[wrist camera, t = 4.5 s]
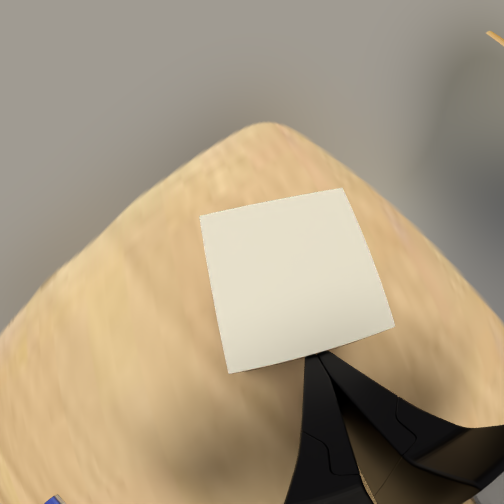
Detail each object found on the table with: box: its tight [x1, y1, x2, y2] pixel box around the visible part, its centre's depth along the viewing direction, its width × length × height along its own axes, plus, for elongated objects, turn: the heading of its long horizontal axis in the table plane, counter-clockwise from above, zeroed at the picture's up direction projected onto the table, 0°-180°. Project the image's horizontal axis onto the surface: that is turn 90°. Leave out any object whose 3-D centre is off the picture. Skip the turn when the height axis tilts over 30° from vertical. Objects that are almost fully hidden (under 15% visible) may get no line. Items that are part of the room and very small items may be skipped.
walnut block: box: [199, 188, 395, 374], centre depth 14 cm, size 6×6×8 cm
